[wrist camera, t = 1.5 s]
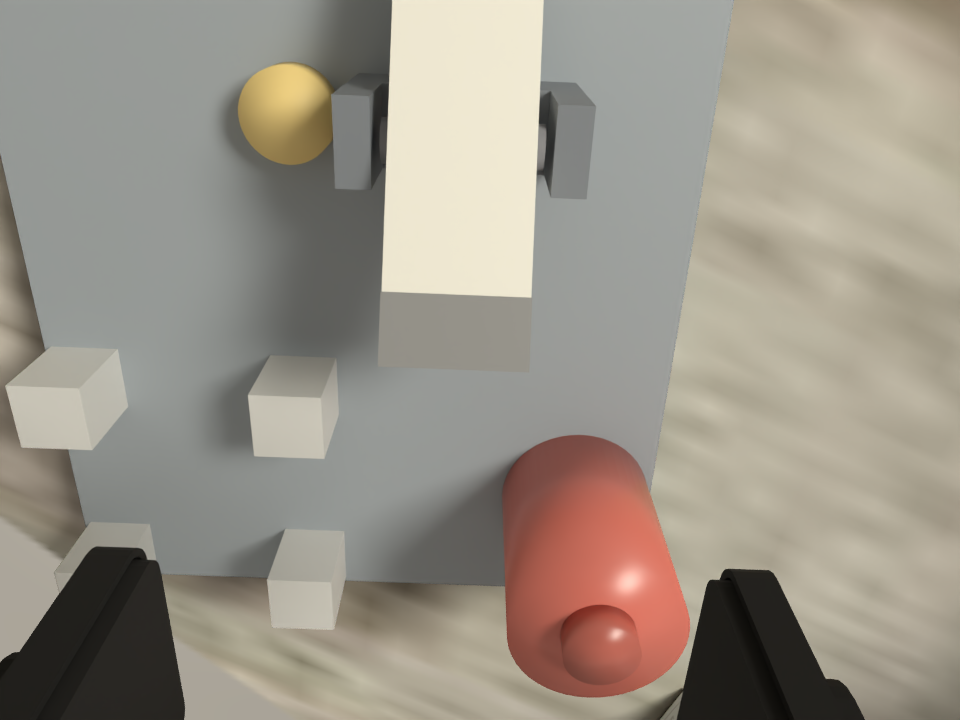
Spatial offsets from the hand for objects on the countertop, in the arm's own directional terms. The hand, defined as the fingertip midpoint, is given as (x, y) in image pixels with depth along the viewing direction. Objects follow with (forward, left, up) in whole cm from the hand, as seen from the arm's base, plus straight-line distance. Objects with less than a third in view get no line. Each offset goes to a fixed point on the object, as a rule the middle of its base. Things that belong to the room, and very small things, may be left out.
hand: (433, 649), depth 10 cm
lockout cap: (-4, +8, -14) cm, 16 cm away
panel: (+3, +1, -16) cm, 16 cm away
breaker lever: (0, -4, -10) cm, 11 cm away
